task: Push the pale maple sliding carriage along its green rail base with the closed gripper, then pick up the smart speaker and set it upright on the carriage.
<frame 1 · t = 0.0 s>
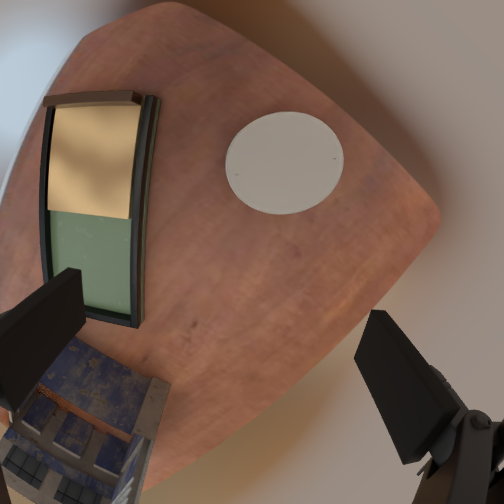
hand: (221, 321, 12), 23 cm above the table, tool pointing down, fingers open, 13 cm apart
rail base: (92, 210, 33), on the table
building: (89, 390, 43), on the table
carriage: (84, 155, 28), point 3 cm above the table, slide at 0.0 cm
smart speaker: (271, 163, 32), on the table
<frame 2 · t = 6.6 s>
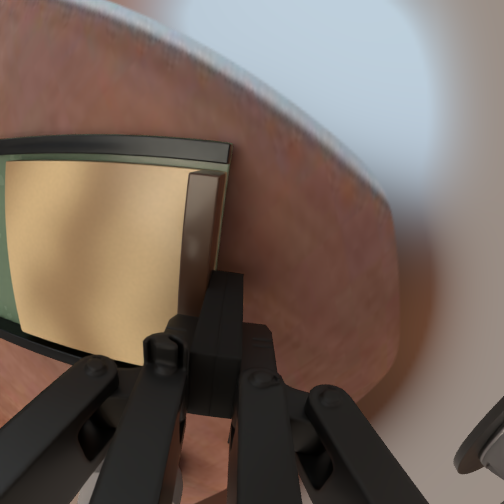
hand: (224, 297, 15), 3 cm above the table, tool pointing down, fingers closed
rail base: (27, 244, 17), on the table
carriage: (82, 277, 14), point 3 cm above the table, slide at 0.1 cm, touching gripper
smart speaker: (142, 453, 23), on the table
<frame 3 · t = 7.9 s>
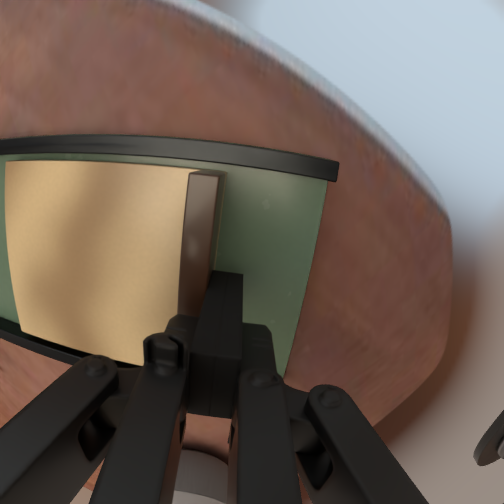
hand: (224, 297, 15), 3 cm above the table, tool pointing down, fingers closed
rail base: (82, 254, 17), on the table
carriage: (82, 277, 14), point 3 cm above the table, slide at 5.2 cm, touching gripper
smart speaker: (191, 463, 24), on the table
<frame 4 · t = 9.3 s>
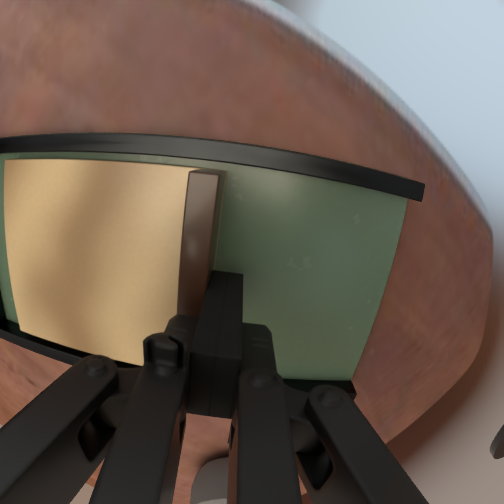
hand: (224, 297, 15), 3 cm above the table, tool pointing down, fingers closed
rail base: (152, 265, 17), on the table
carriage: (81, 276, 14), point 3 cm above the table, slide at 10.2 cm, touching gripper
smart speaker: (240, 468, 24), on the table
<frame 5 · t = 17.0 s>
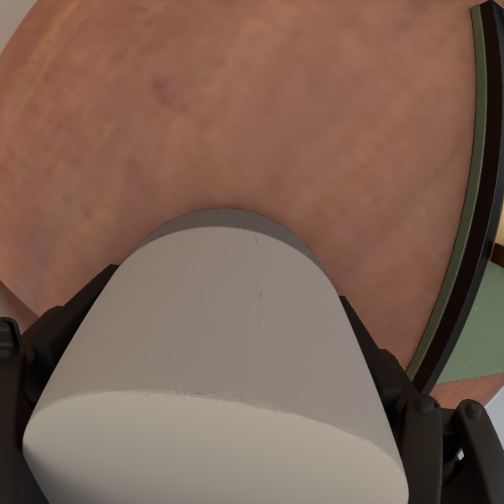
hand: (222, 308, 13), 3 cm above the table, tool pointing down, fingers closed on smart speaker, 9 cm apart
smart speaker: (226, 284, 16), on the table, touching gripper
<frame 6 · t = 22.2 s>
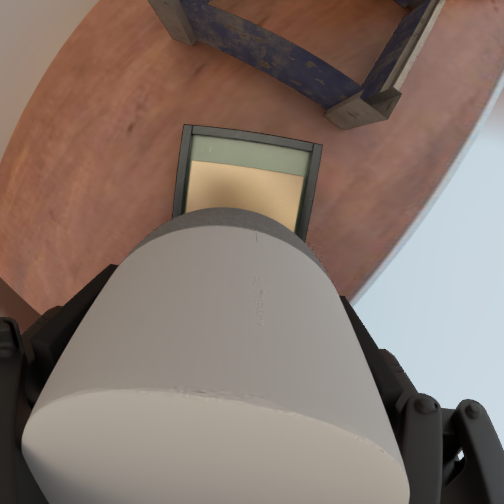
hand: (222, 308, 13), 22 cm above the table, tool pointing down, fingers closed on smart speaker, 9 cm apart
rail base: (235, 253, 36), on the table
building: (306, 9, 27), on the table
carriage: (238, 233, 32), point 3 cm above the table, slide at 10.2 cm
smart speaker: (226, 284, 16), point 19 cm above the table, touching gripper
when the fingers open (5 cm above the table, at t = 27.2 s): smart speaker stays where it is, resting on carriage.
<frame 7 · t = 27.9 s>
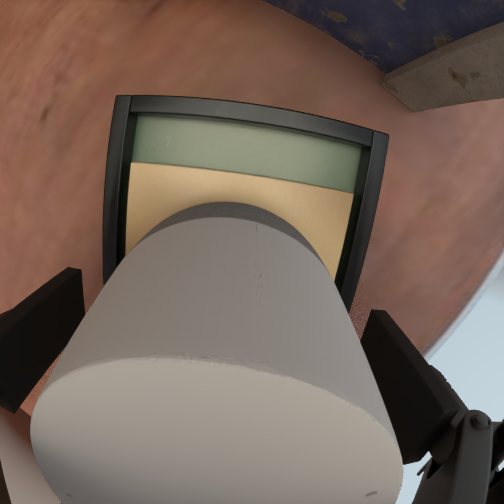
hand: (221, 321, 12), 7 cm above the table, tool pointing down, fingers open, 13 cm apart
rail base: (221, 327, 20), on the table
carriage: (223, 306, 16), point 3 cm above the table, slide at 10.3 cm, touching smart speaker
smart speaker: (227, 276, 17), point 2 cm above the table, touching carriage
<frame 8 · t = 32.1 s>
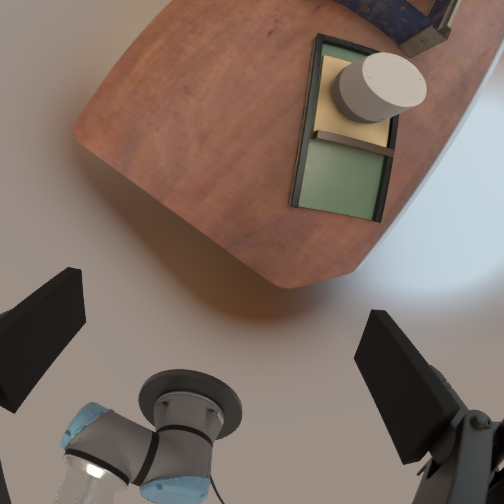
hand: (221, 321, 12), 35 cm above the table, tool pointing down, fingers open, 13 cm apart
rail base: (348, 126, 42), on the table
carriage: (358, 103, 38), point 3 cm above the table, slide at 10.3 cm, touching smart speaker
smart speaker: (356, 97, 39), point 2 cm above the table, touching carriage
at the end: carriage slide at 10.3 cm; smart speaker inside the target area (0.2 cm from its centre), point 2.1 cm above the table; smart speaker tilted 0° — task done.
